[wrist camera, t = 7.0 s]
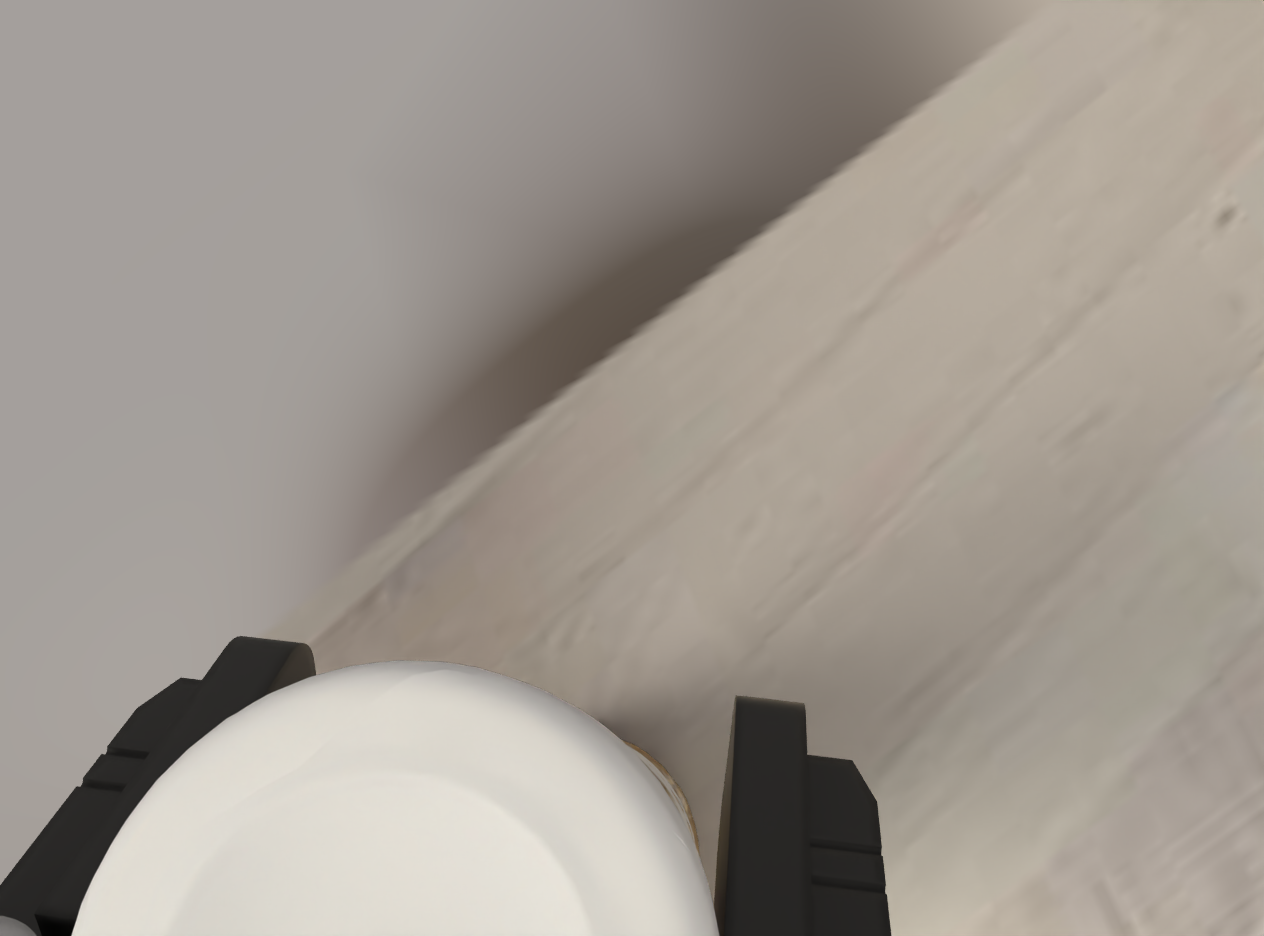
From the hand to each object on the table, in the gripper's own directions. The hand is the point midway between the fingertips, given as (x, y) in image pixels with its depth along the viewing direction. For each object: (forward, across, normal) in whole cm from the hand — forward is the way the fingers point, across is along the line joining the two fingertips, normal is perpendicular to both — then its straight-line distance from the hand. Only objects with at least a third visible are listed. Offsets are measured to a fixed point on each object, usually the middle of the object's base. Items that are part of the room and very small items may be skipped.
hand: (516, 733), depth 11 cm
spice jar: (+5, 0, +8) cm, 9 cm away
